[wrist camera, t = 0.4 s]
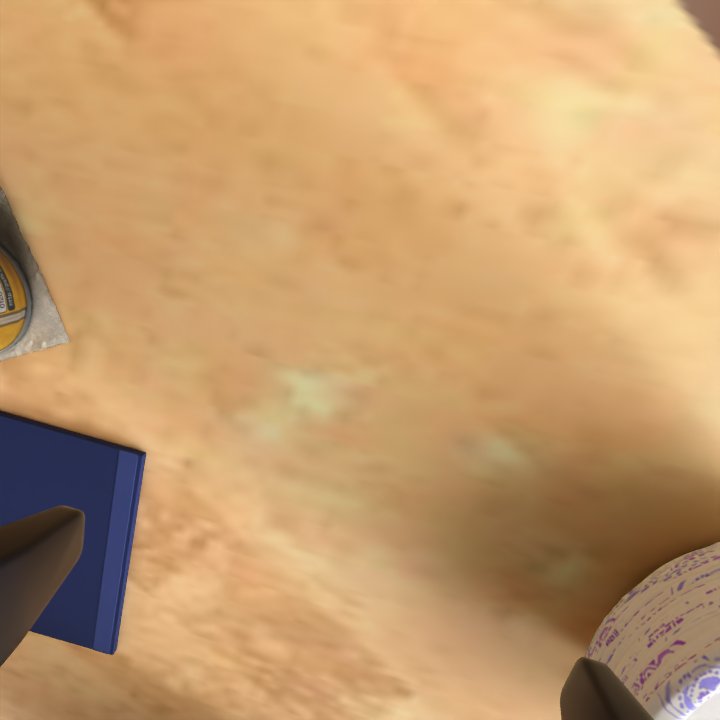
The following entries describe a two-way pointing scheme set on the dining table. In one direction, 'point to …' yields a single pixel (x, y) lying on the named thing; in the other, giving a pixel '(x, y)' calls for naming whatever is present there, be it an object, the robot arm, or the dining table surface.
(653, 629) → the paper bowls
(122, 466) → the cloth
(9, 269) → the condiment
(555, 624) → the dining table surface
